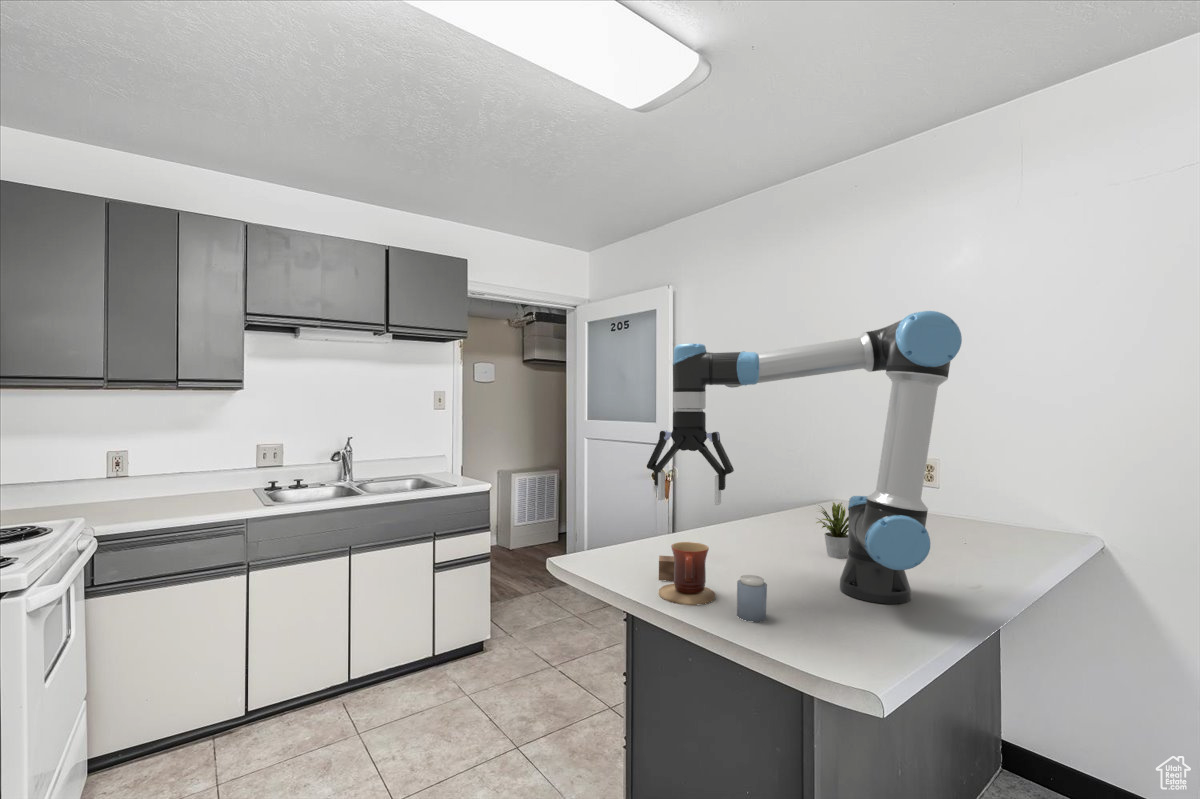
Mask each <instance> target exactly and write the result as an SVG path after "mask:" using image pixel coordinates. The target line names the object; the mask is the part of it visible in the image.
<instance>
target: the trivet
mask: <svg viewBox="0 0 1200 799" xmlns="http://www.w3.org/2000/svg"><path fill="white" fill-rule="evenodd" d="M659 595H660V596H659ZM658 596H659V597H660V598H661V599H662V600H664V599H665V601H666V600H667V601H666V602H670V603H672V602H673V604H676V603H677V605H682V604H687V605H686V606H698V605H697V604H702V605H706V604H705V603H707V604H709V602H710V603H712V602H713V600H714V599H715V600H716V593H715V591H714V590H713V589H711V588H710V587H707V586H705V588H704V590H703V591H702V592H701V593H698V594H684V593H681V592H679V591H677V590H676V589H675V585H674V583H670V584H666V585H663V586H661V587H659V589H658ZM715 600H714V601H715ZM711 601H712V602H711Z"/></svg>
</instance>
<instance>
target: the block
mask: <svg viewBox="0 0 1200 799" xmlns="http://www.w3.org/2000/svg"><path fill="white" fill-rule="evenodd" d="M673 579H674V555H659V557H658V581H659V580H666V581H665V582H674V580H673Z"/></svg>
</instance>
